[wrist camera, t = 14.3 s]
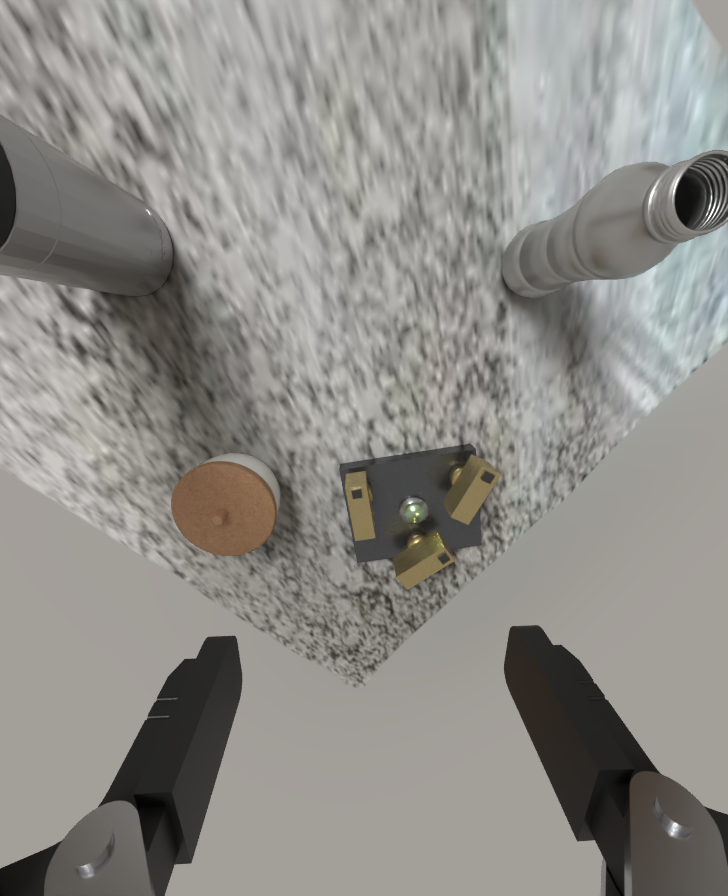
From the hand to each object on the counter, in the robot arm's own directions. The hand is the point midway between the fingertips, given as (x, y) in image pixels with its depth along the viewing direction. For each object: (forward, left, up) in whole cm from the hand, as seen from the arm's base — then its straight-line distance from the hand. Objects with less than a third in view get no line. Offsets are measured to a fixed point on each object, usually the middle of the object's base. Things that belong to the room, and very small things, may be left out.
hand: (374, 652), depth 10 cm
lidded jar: (-16, -6, -33) cm, 37 cm away
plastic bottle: (+19, +13, -33) cm, 40 cm away
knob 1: (-2, -9, -30) cm, 32 cm away
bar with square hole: (+4, -17, -30) cm, 35 cm away
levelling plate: (+4, -12, -32) cm, 35 cm away
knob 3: (+10, -9, -30) cm, 33 cm away
